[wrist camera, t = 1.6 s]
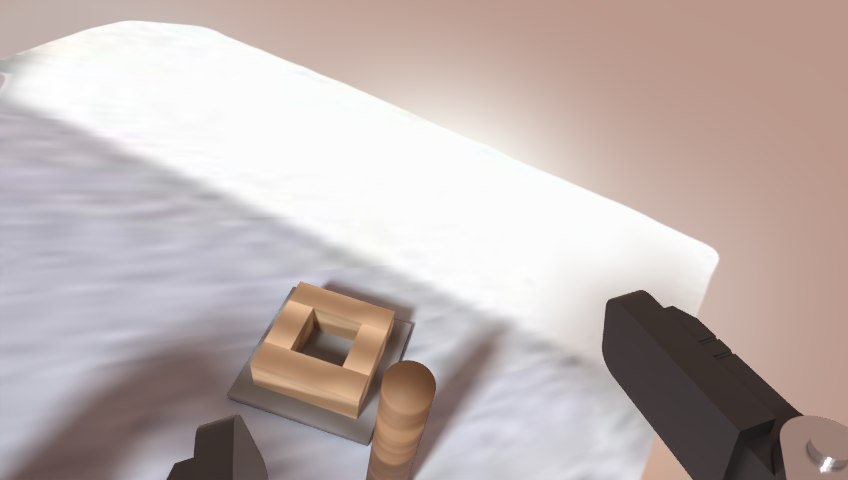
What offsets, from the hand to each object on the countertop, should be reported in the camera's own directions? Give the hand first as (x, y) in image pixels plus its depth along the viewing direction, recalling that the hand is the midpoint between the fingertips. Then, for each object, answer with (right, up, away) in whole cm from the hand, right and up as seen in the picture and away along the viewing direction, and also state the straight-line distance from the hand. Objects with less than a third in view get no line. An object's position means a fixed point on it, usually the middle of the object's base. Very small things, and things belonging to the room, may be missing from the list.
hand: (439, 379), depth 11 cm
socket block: (-12, -11, +51) cm, 53 cm away
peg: (-4, -22, +42) cm, 47 cm away
